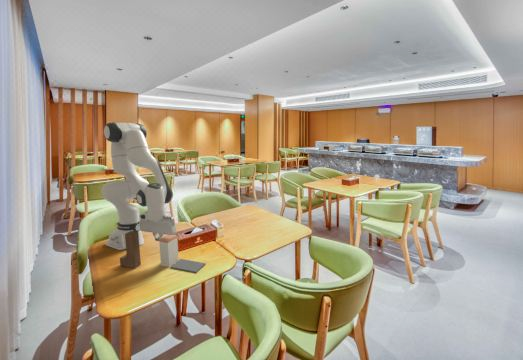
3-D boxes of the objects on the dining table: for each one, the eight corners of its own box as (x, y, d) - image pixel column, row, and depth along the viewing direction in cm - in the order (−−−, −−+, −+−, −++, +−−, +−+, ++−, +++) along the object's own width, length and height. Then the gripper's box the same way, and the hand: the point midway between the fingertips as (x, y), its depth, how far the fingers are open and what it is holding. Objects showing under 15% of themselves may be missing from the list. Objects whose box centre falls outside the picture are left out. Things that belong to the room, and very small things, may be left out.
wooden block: (120, 266, 139) (116, 232, 136) (126, 262, 144) (123, 229, 140) (135, 268, 137) (132, 234, 133) (141, 264, 141) (138, 231, 138)
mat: (170, 267, 138) (170, 266, 138) (180, 259, 147) (180, 258, 147) (196, 273, 134) (196, 271, 134) (205, 264, 142) (205, 263, 142)
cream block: (160, 265, 141) (159, 239, 138) (170, 258, 148) (169, 234, 145) (169, 267, 139) (167, 241, 136) (178, 259, 147) (177, 235, 144)
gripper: (177, 215, 140) (179, 240, 143) (144, 211, 147) (146, 236, 149) (170, 219, 134) (171, 245, 137) (136, 215, 141) (138, 240, 143)
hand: (158, 240), depth 143 cm, fingers closed
